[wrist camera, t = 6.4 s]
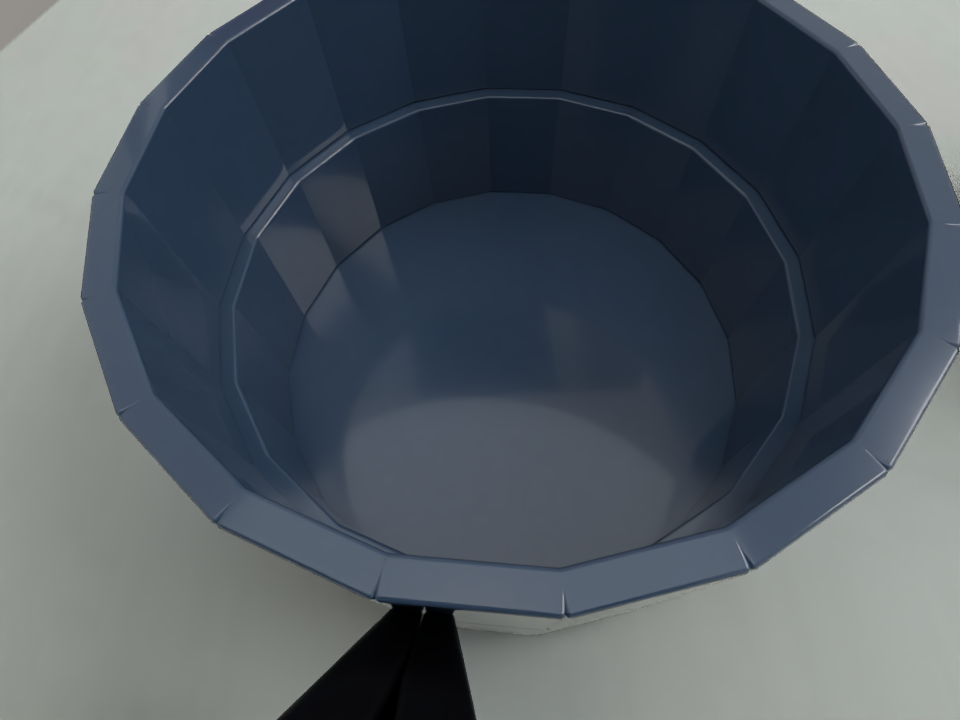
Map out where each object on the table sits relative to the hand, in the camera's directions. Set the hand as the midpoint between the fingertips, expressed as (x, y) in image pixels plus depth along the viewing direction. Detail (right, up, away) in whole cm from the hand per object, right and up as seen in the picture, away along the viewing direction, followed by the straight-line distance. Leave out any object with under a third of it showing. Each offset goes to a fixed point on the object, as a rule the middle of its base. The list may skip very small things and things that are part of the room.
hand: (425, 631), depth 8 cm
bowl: (+2, +4, +10) cm, 11 cm away
